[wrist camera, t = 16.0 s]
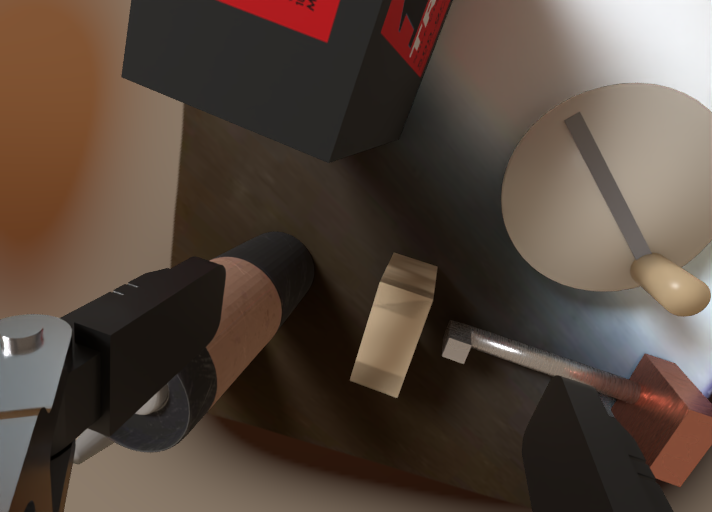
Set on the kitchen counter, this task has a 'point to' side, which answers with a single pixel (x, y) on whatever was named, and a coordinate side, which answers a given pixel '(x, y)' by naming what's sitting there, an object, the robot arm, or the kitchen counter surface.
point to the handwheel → (616, 193)
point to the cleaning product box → (290, 64)
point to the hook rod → (618, 397)
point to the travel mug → (226, 338)
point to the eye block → (395, 324)
